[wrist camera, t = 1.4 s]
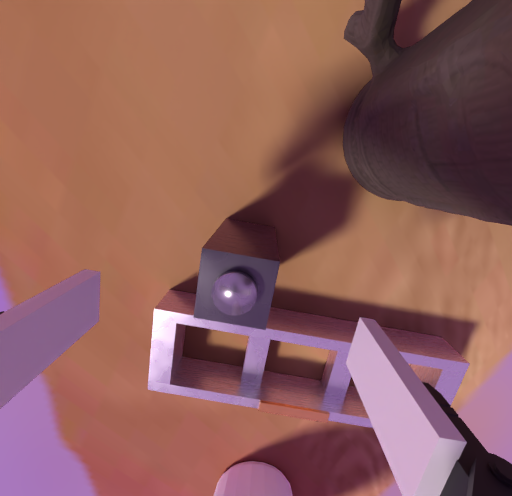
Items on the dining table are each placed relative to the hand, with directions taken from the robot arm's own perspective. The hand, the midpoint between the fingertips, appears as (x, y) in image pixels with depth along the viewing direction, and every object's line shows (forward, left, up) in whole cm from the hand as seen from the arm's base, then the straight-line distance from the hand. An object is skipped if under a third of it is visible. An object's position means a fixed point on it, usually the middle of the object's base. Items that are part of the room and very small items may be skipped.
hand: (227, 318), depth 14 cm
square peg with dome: (0, 0, -13) cm, 13 cm away
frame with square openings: (+10, +7, -13) cm, 17 cm away
